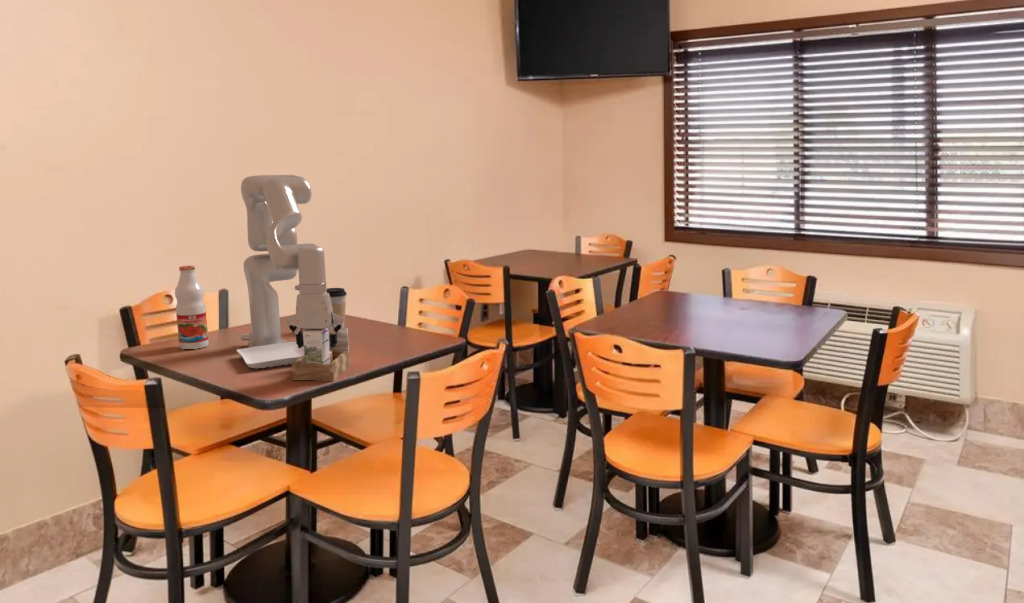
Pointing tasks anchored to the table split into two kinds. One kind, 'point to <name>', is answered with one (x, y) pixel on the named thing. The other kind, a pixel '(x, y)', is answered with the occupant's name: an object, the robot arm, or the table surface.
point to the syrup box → (316, 346)
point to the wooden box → (325, 370)
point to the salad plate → (271, 355)
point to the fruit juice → (190, 311)
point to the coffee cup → (338, 302)
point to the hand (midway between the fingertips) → (317, 346)
